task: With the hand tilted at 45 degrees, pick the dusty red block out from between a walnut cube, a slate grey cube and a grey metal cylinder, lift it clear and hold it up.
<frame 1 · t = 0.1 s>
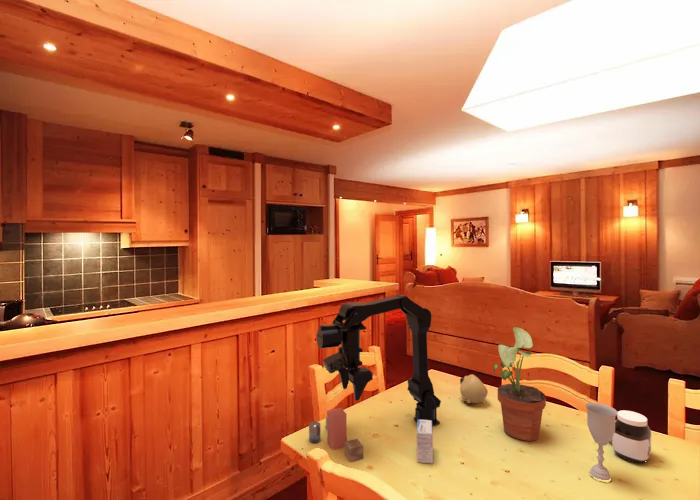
hand: (350, 394, 113), 15 cm above the table, tool pointing down, fingers open, 9 cm apart
toy pig: (472, 402, 140), on the table
spread jar: (625, 452, 107), on the table
potted plant: (518, 434, 117), on the table
chalice: (600, 477, 96), on the table
dusty red block: (337, 444, 112), on the table
walnut block: (353, 457, 105), on the table
slate grey block: (333, 430, 120), on the table
grey metal cylinder: (314, 440, 114), on the table
medicine box: (424, 456, 106), on the table
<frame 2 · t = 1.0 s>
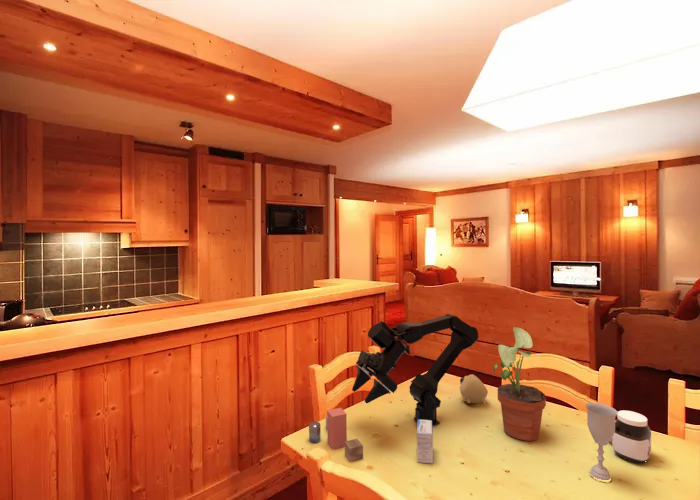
hand: (359, 396, 115), 13 cm above the table, tool tilted 45°, fingers open, 9 cm apart
nothing on the table moved.
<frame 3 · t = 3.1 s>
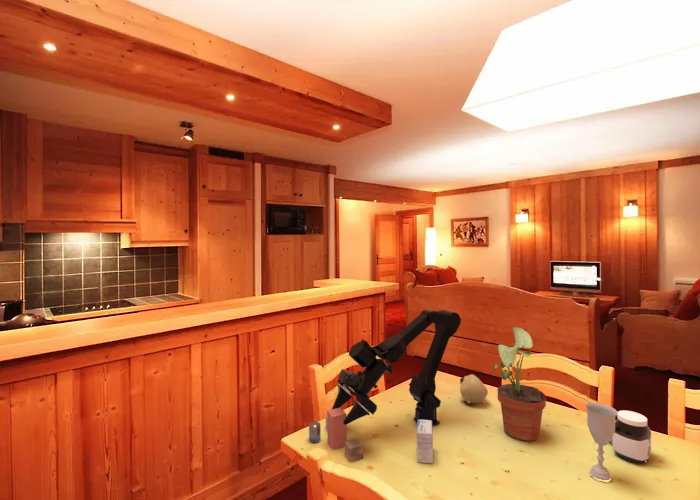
hand: (338, 416, 112), 8 cm above the table, tool tilted 45°, fingers open, 9 cm apart
nothing on the table moved.
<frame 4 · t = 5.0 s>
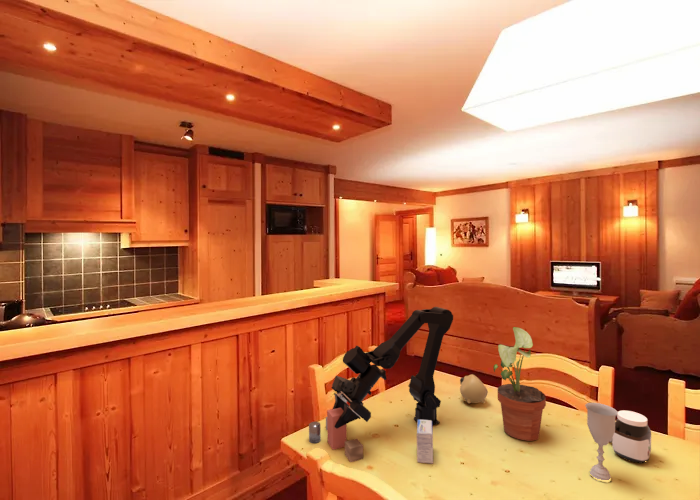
hand: (332, 423, 111), 7 cm above the table, tool tilted 45°, fingers closed on dusty red block, 4 cm apart
dusty red block: (337, 444, 112), on the table, touching gripper
everything else where it was.
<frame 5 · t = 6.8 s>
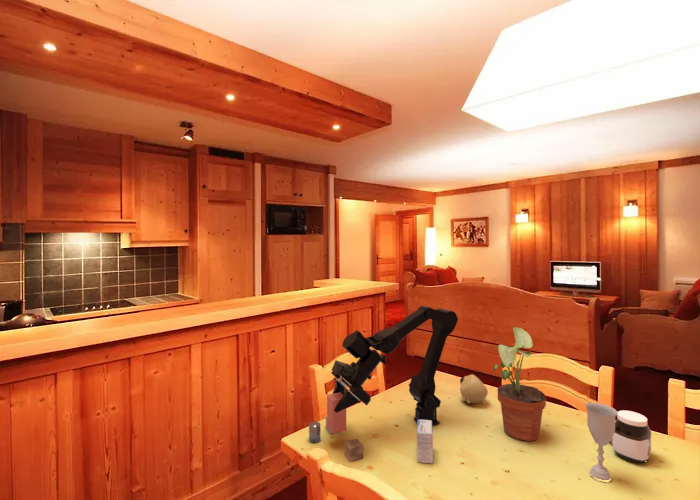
hand: (332, 408, 111), 11 cm above the table, tool tilted 45°, fingers closed on dusty red block, 4 cm apart
dusty red block: (336, 428, 112), point 5 cm above the table, touching gripper
everything else where it was.
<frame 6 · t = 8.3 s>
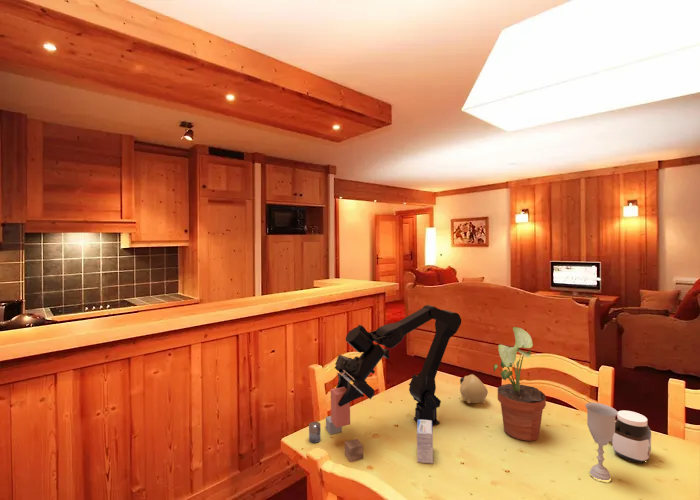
hand: (336, 402, 112), 13 cm above the table, tool tilted 45°, fingers closed on dusty red block, 4 cm apart
dusty red block: (340, 422, 112), point 6 cm above the table, touching gripper
everything else where it was.
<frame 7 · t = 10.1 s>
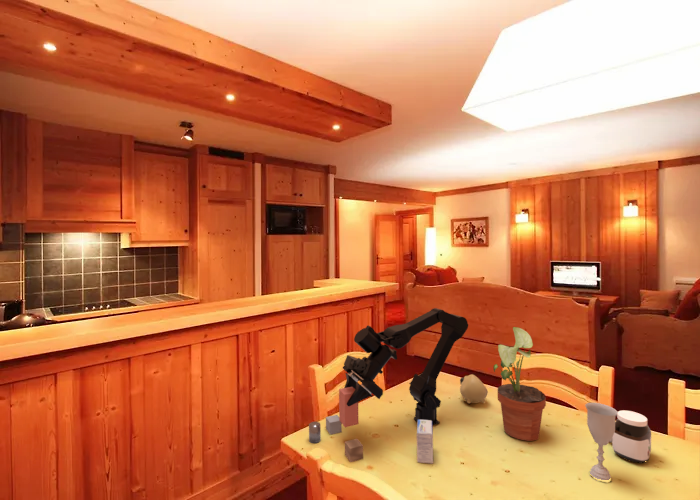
hand: (344, 402, 113), 13 cm above the table, tool tilted 45°, fingers closed on dusty red block, 4 cm apart
dusty red block: (348, 422, 113), point 6 cm above the table, touching gripper
everything else where it was.
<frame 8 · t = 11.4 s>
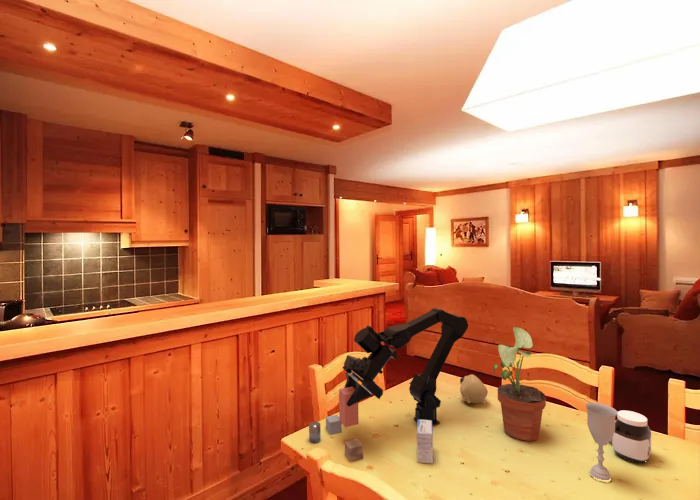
hand: (344, 402, 113), 13 cm above the table, tool tilted 45°, fingers closed on dusty red block, 4 cm apart
dusty red block: (348, 422, 113), point 6 cm above the table, touching gripper
everything else where it was.
at the end: the gripper is holding dusty red block; dusty red block point 5.9 cm above the table; walnut block moved 0.1 cm from its start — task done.
